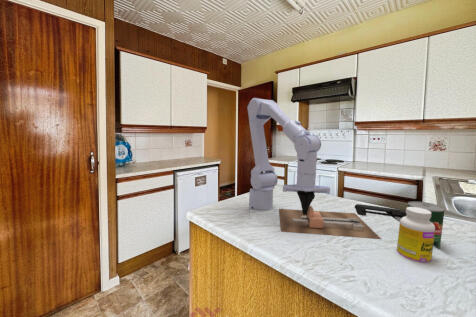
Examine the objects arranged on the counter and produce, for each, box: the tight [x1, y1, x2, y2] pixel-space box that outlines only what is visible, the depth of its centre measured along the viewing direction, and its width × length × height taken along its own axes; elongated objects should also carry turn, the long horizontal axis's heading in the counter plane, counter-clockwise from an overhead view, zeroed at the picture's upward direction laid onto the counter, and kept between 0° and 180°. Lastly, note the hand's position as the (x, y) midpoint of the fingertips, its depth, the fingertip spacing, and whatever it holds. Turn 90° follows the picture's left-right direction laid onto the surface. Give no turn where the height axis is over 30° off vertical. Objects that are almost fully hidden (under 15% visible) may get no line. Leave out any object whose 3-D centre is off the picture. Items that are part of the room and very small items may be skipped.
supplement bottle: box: [396, 206, 435, 263], centre depth 53 cm, size 7×7×13 cm
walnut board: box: [278, 208, 382, 240], centre depth 73 cm, size 28×20×2 cm
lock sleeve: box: [306, 205, 324, 228], centre depth 70 cm, size 4×7×5 cm, turn 171°
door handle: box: [353, 203, 407, 223], centre depth 79 cm, size 3×20×16 cm
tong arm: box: [301, 216, 360, 223], centre depth 71 cm, size 18×2×2 cm, turn 81°
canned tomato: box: [407, 201, 446, 250], centre depth 61 cm, size 8×8×11 cm
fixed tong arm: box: [292, 219, 364, 231], centre depth 68 cm, size 21×2×2 cm, turn 81°
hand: (304, 213), depth 71 cm, fingers closed
